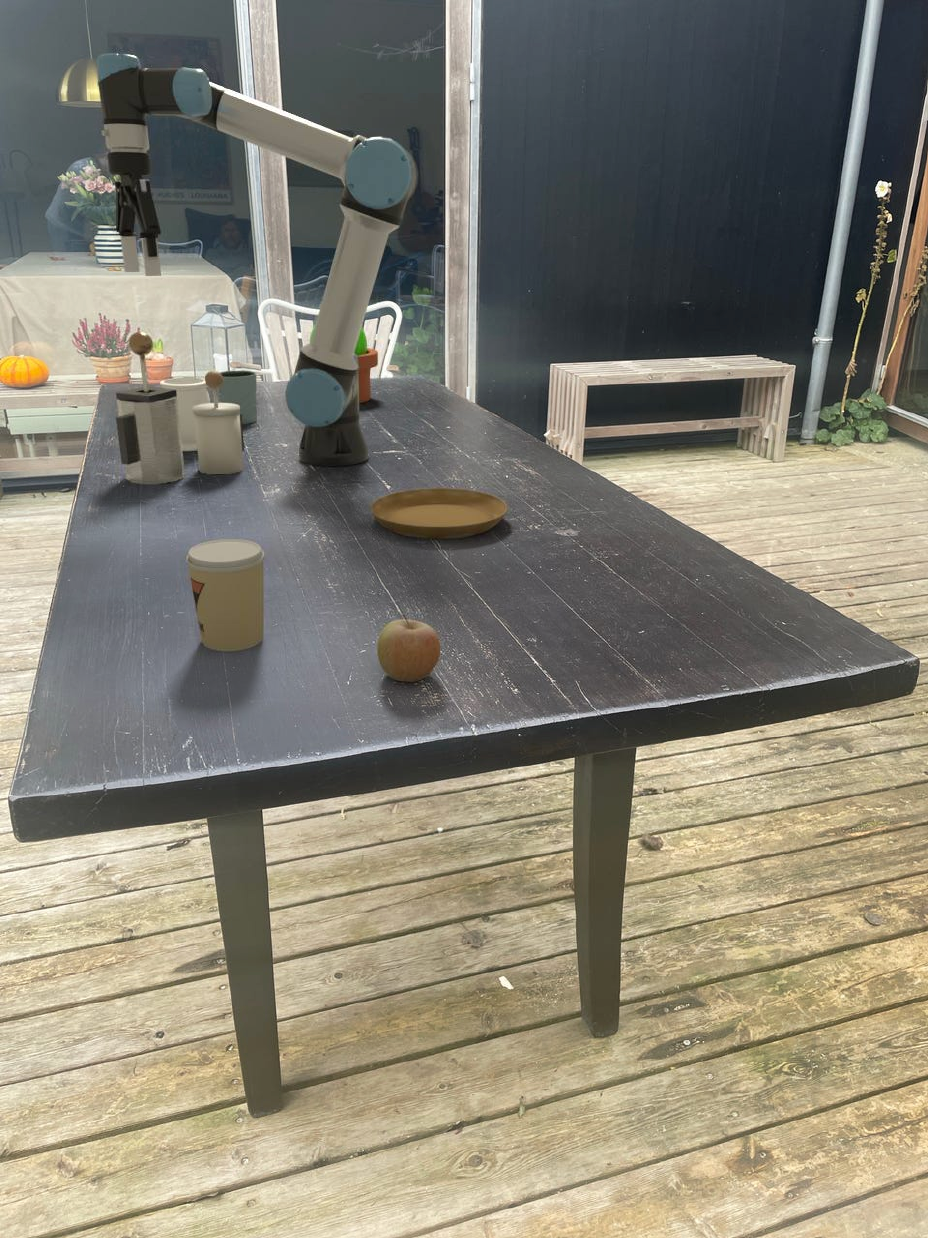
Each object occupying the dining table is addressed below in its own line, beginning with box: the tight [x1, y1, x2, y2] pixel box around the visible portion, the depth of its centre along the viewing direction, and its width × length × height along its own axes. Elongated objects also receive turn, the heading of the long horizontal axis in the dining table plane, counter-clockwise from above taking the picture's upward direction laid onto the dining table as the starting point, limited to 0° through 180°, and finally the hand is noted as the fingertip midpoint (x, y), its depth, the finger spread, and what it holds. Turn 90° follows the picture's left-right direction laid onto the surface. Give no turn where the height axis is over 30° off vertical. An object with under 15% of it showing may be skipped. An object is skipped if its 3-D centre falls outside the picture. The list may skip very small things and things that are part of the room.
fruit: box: [376, 612, 441, 683], centre depth 111 cm, size 8×7×8 cm
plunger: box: [128, 331, 154, 393], centre depth 186 cm, size 8×8×21 cm
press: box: [115, 386, 186, 485], centre depth 189 cm, size 11×14×17 cm
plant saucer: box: [369, 487, 508, 540], centre depth 169 cm, size 24×24×3 cm
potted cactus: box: [308, 323, 379, 404], centre depth 270 cm, size 22×22×25 cm
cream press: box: [193, 370, 245, 475], centre depth 197 cm, size 9×12×20 cm
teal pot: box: [217, 370, 258, 425], centre depth 243 cm, size 10×10×12 cm
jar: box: [160, 377, 211, 452], centre depth 214 cm, size 11×10×15 cm
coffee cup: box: [185, 538, 265, 653], centre depth 119 cm, size 9×9×12 cm
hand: (142, 273), depth 184 cm, fingers open, 13 cm apart
